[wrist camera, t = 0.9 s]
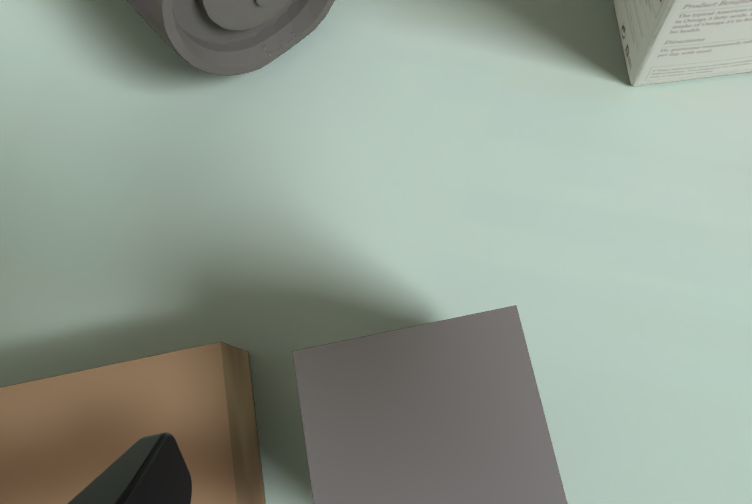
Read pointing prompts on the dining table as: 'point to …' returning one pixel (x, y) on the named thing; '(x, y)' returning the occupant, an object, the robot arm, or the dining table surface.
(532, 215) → the dining table surface
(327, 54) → the dining table surface
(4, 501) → the brown wooden flat slab
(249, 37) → the bluetooth speaker
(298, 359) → the grey rectangular block
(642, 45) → the supplement box
